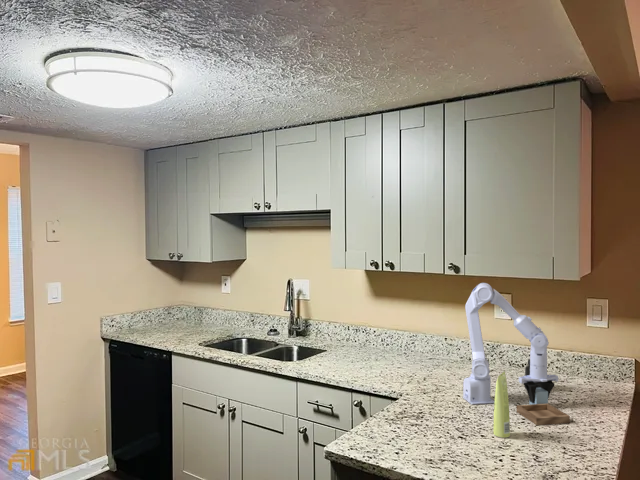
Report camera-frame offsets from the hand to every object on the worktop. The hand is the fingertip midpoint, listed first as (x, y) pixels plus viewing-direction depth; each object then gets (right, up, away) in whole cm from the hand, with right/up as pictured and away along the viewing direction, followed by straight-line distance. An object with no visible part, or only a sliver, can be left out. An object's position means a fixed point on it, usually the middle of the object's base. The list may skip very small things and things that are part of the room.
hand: (538, 401), depth 178 cm
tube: (-23, -3, -25) cm, 33 cm away
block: (0, -2, 0) cm, 2 cm away
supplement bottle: (+6, -1, +18) cm, 19 cm away
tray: (-3, -2, -11) cm, 11 cm away
